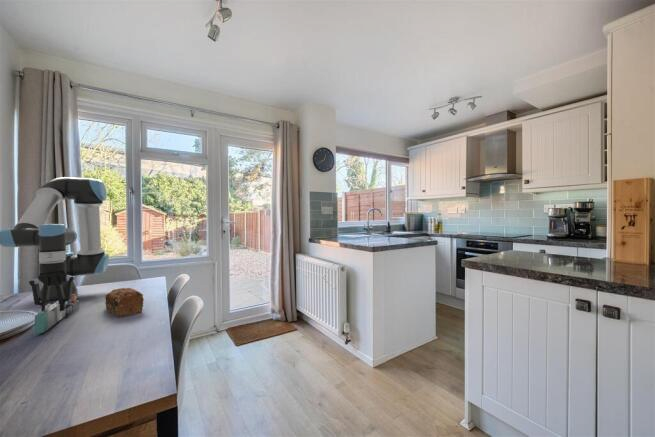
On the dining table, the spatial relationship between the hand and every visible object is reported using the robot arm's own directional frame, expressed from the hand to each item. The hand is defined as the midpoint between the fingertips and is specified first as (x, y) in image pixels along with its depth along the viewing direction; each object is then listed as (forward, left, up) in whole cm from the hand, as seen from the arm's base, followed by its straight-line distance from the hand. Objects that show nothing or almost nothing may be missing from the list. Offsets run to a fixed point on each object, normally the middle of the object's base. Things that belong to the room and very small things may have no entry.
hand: (53, 320), depth 107 cm
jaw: (0, +1, -1) cm, 1 cm away
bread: (-7, +22, -2) cm, 23 cm away
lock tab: (-18, 0, +3) cm, 18 cm away
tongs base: (-4, 0, -2) cm, 4 cm away
